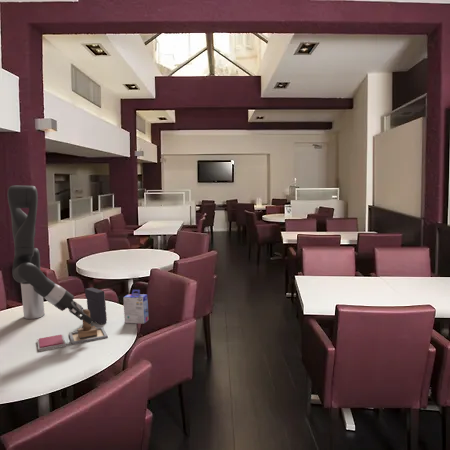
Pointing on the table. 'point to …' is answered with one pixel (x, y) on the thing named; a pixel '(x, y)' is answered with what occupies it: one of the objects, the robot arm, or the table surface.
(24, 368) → the table surface
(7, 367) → the table surface
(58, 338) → the ink pad
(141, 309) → the ink cartridge box
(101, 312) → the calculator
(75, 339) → the grey flat frame
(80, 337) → the wooden stamp
